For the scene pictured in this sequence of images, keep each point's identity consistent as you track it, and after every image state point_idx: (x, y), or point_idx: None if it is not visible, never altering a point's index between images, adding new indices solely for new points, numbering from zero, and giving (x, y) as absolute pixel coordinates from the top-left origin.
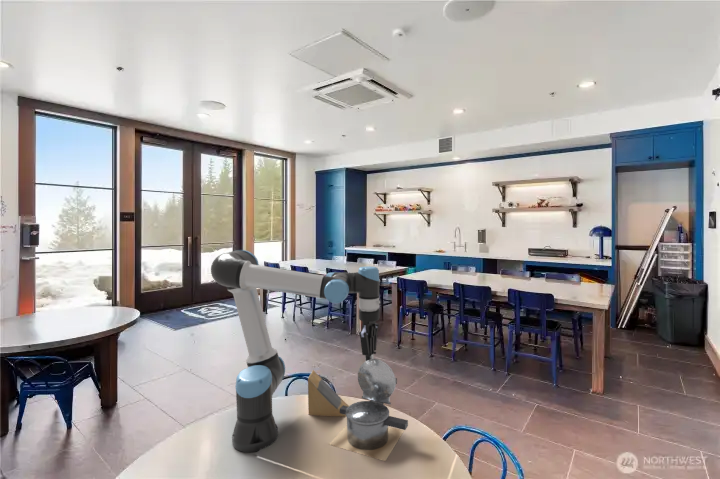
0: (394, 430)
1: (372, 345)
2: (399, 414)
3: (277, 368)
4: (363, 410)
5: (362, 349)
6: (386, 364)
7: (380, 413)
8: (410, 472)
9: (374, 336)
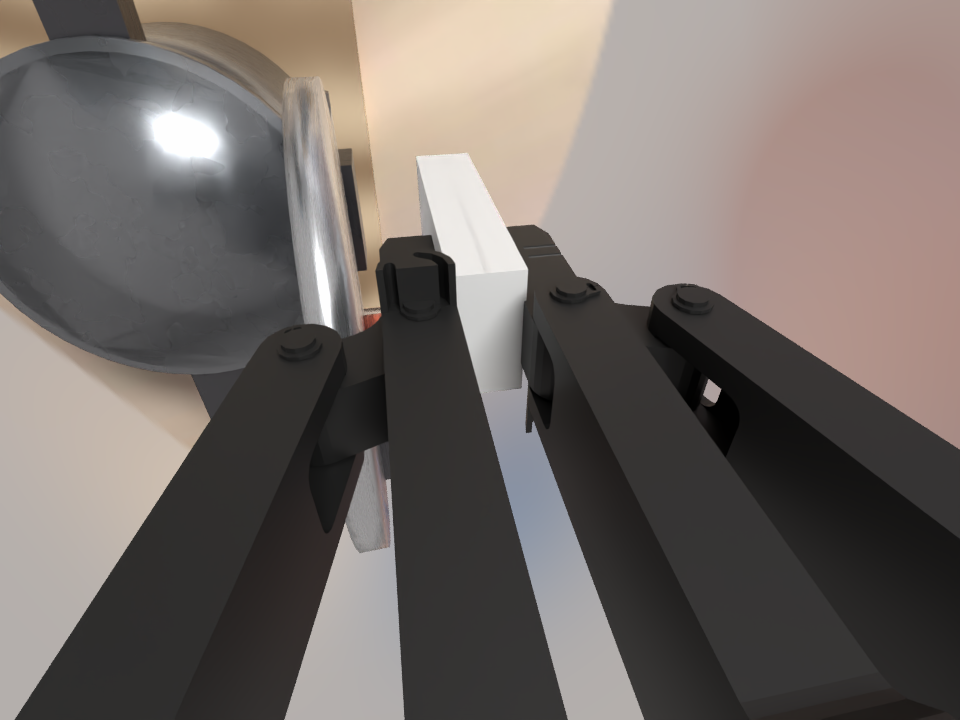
0: None
1: (572, 516)
2: (537, 216)
3: None
4: (151, 203)
5: (195, 470)
6: (372, 549)
7: (213, 323)
8: (150, 420)
9: (880, 634)
